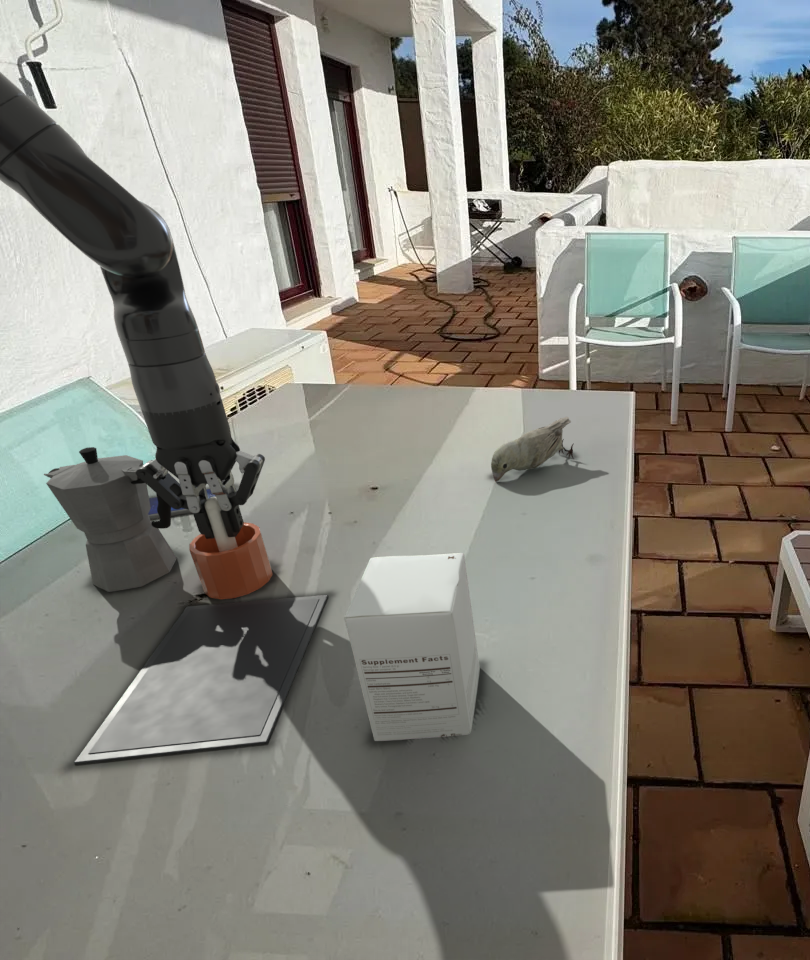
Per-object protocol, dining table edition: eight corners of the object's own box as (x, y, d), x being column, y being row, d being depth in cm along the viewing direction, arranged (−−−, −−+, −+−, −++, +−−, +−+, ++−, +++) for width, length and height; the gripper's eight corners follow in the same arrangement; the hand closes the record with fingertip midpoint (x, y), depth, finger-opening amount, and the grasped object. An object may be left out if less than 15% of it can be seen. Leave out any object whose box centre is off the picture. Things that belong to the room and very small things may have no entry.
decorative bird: (485, 477, 107) (481, 436, 104) (560, 451, 117) (558, 413, 113) (503, 487, 103) (499, 446, 100) (578, 460, 113) (578, 421, 110)
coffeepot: (60, 595, 78) (-3, 463, 70) (118, 553, 87) (68, 431, 79) (177, 601, 77) (126, 467, 69) (225, 558, 86) (184, 434, 77)
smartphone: (128, 500, 99) (235, 483, 103) (130, 505, 99) (236, 489, 104) (114, 521, 92) (228, 503, 97) (116, 527, 93) (230, 508, 98)
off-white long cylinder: (227, 587, 79) (199, 502, 73) (233, 578, 80) (206, 494, 75) (244, 585, 79) (217, 501, 74) (250, 576, 81) (224, 493, 75)
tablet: (77, 770, 55) (72, 761, 55) (189, 613, 75) (186, 605, 75) (269, 749, 57) (266, 740, 57) (329, 601, 77) (327, 593, 76)
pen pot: (195, 606, 76) (177, 557, 73) (220, 570, 83) (205, 524, 80) (261, 601, 77) (247, 552, 74) (281, 566, 84) (268, 520, 81)
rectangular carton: (394, 676, 65) (368, 554, 59) (481, 671, 66) (466, 549, 59) (372, 748, 57) (339, 616, 51) (472, 742, 58) (453, 610, 51)
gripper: (91, 413, 65) (147, 556, 72) (234, 406, 66) (274, 546, 74) (130, 390, 71) (177, 523, 79) (259, 384, 73) (293, 515, 81)
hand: (224, 534), depth 77 cm, fingers closed on off-white long cylinder, 2 cm apart
